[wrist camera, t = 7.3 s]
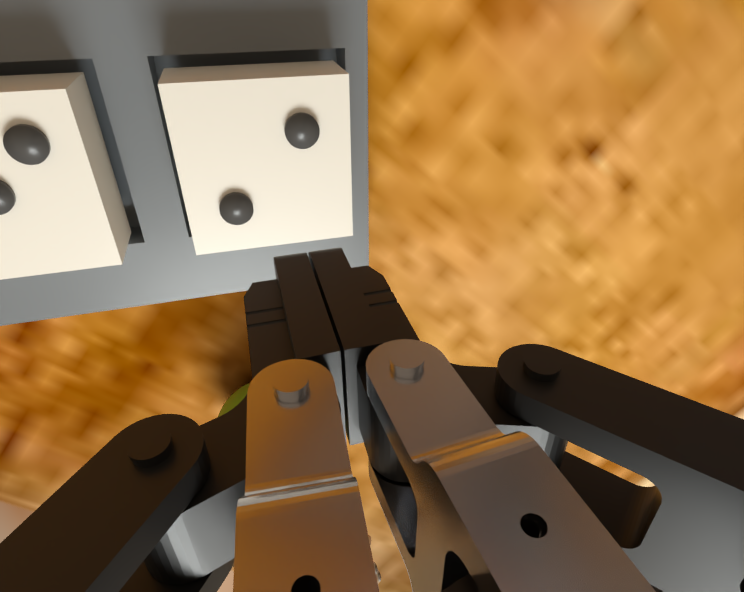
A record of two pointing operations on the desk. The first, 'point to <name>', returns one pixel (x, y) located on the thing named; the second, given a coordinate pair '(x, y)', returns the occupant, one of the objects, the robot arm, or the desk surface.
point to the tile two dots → (261, 152)
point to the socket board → (151, 137)
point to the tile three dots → (55, 180)
